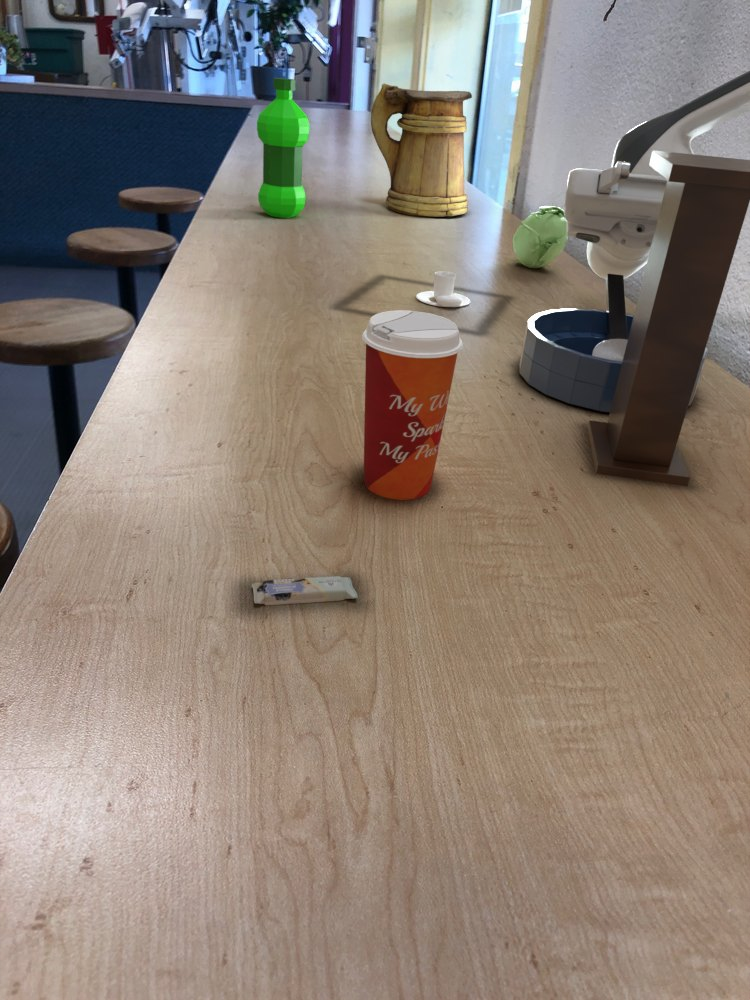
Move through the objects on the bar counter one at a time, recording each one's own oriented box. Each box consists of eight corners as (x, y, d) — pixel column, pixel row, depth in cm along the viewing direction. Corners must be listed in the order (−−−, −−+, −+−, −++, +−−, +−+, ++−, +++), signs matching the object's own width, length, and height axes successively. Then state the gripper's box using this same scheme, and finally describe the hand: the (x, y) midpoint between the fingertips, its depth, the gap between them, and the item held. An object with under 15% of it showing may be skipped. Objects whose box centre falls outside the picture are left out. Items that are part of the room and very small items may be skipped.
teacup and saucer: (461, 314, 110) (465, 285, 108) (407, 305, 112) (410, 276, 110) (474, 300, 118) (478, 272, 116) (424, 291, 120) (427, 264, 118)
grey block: (641, 285, 99) (647, 264, 97) (652, 404, 85) (660, 383, 83) (585, 279, 100) (590, 258, 98) (586, 397, 86) (592, 375, 83)
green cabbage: (487, 264, 138) (497, 199, 133) (527, 258, 145) (537, 196, 140) (541, 281, 131) (554, 213, 125) (580, 274, 138) (594, 208, 132)
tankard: (472, 221, 173) (489, 94, 161) (365, 213, 171) (374, 84, 159) (461, 206, 189) (476, 89, 176) (363, 199, 187) (371, 80, 175)
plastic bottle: (287, 210, 167) (290, 77, 155) (316, 220, 160) (322, 82, 148) (247, 213, 161) (246, 75, 149) (275, 223, 155) (277, 80, 142)
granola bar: (351, 583, 53) (352, 571, 53) (357, 604, 51) (358, 591, 51) (251, 589, 52) (251, 576, 51) (253, 610, 50) (253, 597, 49)
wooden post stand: (667, 441, 78) (750, 160, 65) (686, 489, 70) (786, 175, 57) (586, 430, 79) (652, 150, 66) (595, 476, 70) (672, 163, 57)
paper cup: (391, 519, 61) (410, 346, 54) (332, 478, 66) (342, 315, 59) (462, 493, 66) (488, 330, 59) (402, 456, 71) (419, 303, 64)
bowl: (675, 367, 98) (688, 320, 95) (708, 431, 81) (725, 376, 78) (518, 347, 100) (526, 300, 97) (518, 406, 83) (528, 351, 80)
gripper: (716, 251, 100) (758, 210, 87) (554, 234, 102) (571, 190, 88) (722, 202, 100) (766, 153, 87) (561, 186, 102) (579, 135, 88)
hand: (666, 172), depth 88 cm, fingers open, 8 cm apart
